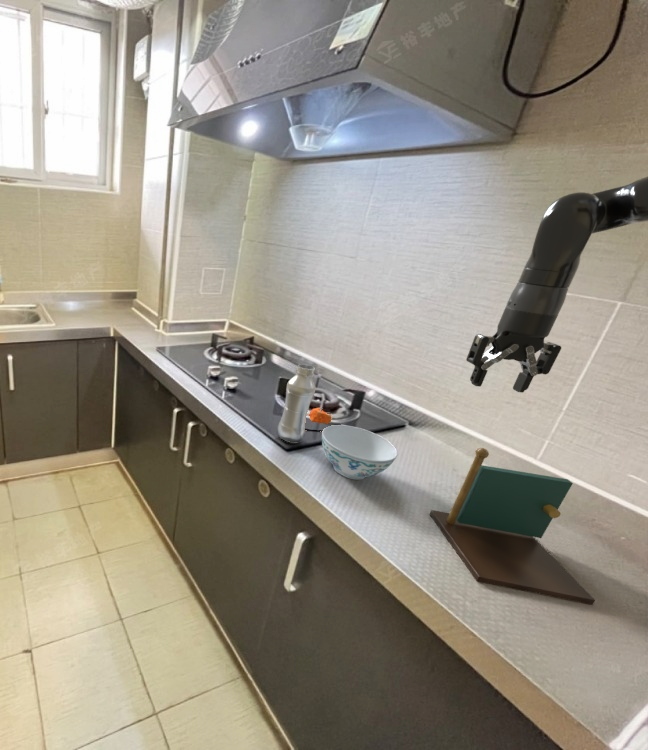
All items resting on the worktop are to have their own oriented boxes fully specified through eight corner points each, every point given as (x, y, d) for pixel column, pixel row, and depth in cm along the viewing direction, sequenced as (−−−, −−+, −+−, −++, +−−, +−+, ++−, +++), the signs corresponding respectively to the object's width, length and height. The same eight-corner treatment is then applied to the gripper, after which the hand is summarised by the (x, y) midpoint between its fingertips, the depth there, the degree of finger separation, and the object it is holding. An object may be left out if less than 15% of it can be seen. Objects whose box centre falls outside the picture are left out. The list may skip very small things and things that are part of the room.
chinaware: (309, 447, 97) (316, 420, 94) (373, 458, 94) (383, 431, 91) (321, 484, 83) (330, 453, 80) (397, 498, 80) (409, 466, 78)
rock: (329, 413, 117) (333, 400, 115) (348, 434, 105) (353, 420, 104) (290, 410, 116) (293, 397, 115) (305, 430, 105) (308, 416, 103)
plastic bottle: (302, 449, 96) (322, 373, 88) (274, 442, 98) (291, 368, 90) (302, 437, 101) (321, 365, 94) (275, 431, 103) (291, 360, 96)
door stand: (520, 530, 74) (562, 453, 68) (592, 605, 59) (654, 515, 53) (429, 513, 76) (461, 438, 70) (476, 581, 62) (523, 493, 56)
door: (536, 533, 71) (567, 479, 67) (547, 544, 69) (581, 489, 64) (455, 518, 73) (480, 464, 69) (463, 529, 71) (490, 474, 66)
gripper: (502, 308, 72) (468, 389, 78) (591, 317, 70) (549, 400, 76) (478, 301, 79) (449, 376, 85) (559, 309, 76) (522, 386, 82)
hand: (496, 387), depth 80 cm, fingers open, 7 cm apart
